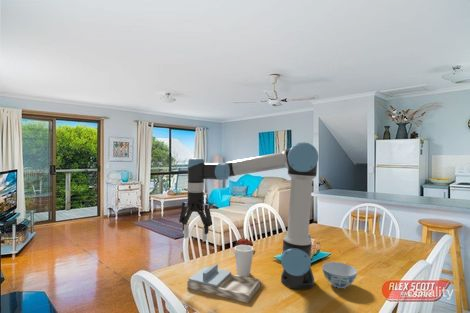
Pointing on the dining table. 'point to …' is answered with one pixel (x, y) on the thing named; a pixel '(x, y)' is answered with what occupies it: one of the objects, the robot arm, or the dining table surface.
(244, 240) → the dragon fruit
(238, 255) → the foam cup
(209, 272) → the lid
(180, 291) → the dining table surface
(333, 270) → the chinaware
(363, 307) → the dining table surface
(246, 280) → the grey flat rectangular tray
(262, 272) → the dining table surface
